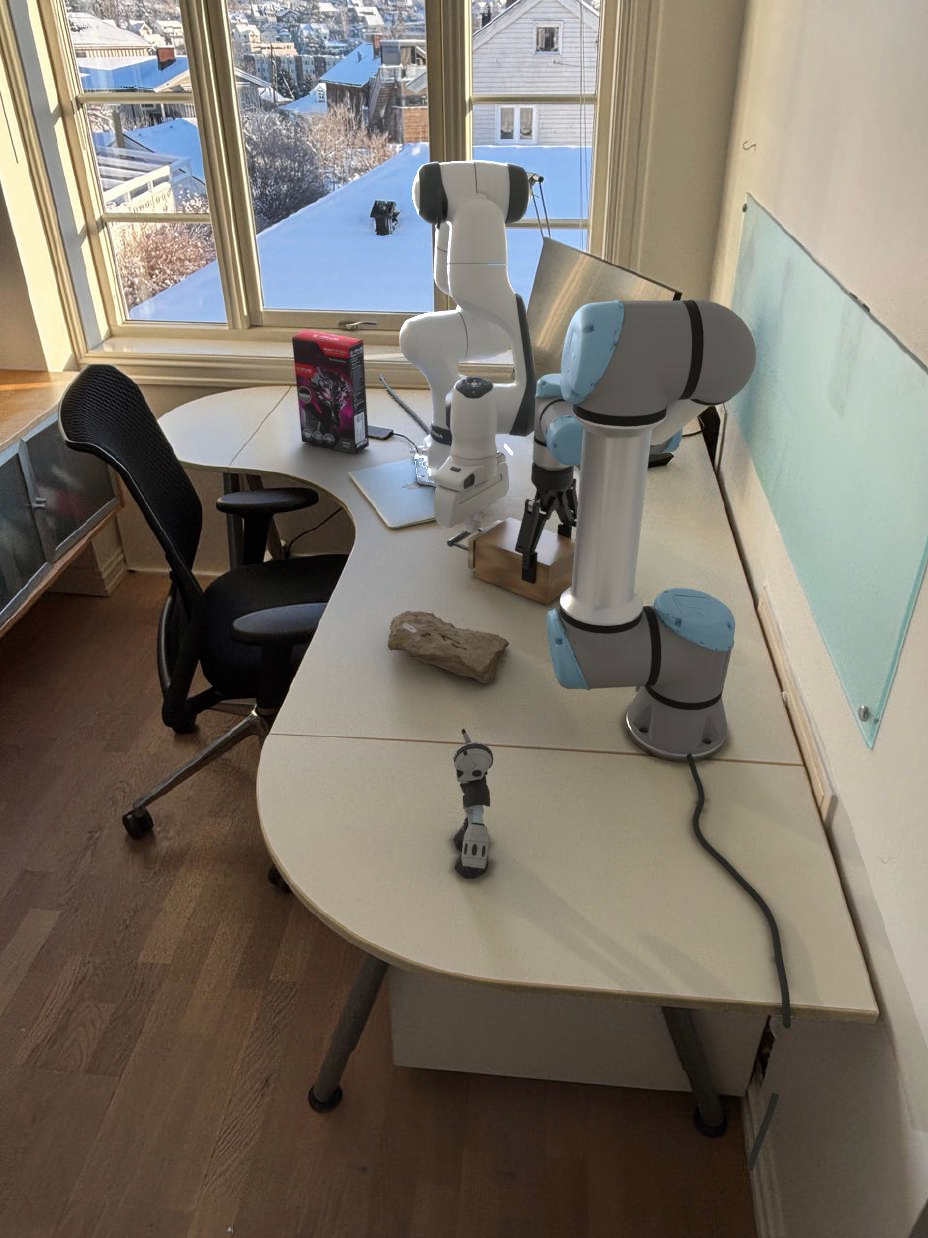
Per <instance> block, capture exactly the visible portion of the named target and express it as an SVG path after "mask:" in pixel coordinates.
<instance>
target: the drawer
mask: <svg viewBox="0 0 928 1238" xmlns="http://www.w3.org/2000/svg"><path fill="white" fill-rule="evenodd" d="M502 521H503V520H501V519H497V520H496V521H493V522H492V523H491V524H489V525H488V526H486V527H485V528H482V527H481V528H479V529H477V530H476V531H474V532H473V533H469V532H467V531H466V529H464V530H463V531H461V532H459V533H457V534H456V535H454V536H453V537H451V538H450V539H447V541H446V545H447V546H448V547H449V548H453V547H456V548H459V549H461V550H463V551H466V552H467V568H468V569H471V570H475V555H476V538H478V537H479V536H481V535H482V534H484V533H485V532H487V531H488V530H490V529H492V528H493V527H495V526H496V525H498V524H499V523H501V522H502ZM474 533H475V534H474ZM469 536H470V537H469ZM468 537H469V538H468ZM467 538H468V540H467V541H468V543H467V545H464V544H462V543H460V542H461V541H463V540H465V539H467Z"/></svg>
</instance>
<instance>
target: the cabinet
mask: <svg viewBox="0 0 928 1238" xmlns="http://www.w3.org/2000/svg"><path fill="white" fill-rule="evenodd" d="M501 521H502V522H501V523H499V524H498V525H496V526H495V527H493V528H492V529H490V530H488V531H487V532H485V533H484V534H482V535H481V536H479V537H478V538H476V555H475V568H474V572H475V573H474V577H475V578H477V579H479V580H482V581H485V582H487V583H490V584H492V585H495V586H497V587H500V588H501V589H502V588H503V589H506V590H507V591H510V592H512V593H515V594H517V595H519V596H523V597H525V598H528V599H530V600H532V601H535V602H538V603H540V604H542V605H545V606H548V605H549V604H551V603H552V602H553V601H554V600H556V599H557V598H558V597H559V596H561V595H562V594H563V592H565V591H566V590H567V589H569V588H570V587H572V577H573V563H574V549H575V539H573V538H572V537H571V538H568V537H565V536H562V535H559V534H557V532H554V531H551V530H548V529H545V528H543V531H542V534H541V536H540V539H539V542H538V544H537V547H536V550H535V552H538V553H537V568H536V583H534V584H531V583H529V582H526V581H524V580H521V577H522V554H521V553H519V552H516V551H515V547H516V543H517V539H518V535H519V531H520V527H521V523H522V520H519V519H516V518H513V517H511V516H509V517H507V518H505V519H503V520H501Z"/></svg>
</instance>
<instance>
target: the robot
mask: <svg viewBox="0 0 928 1238" xmlns="http://www.w3.org/2000/svg"><path fill="white" fill-rule="evenodd" d="M461 734H462V737H463V739H464V742H465V744H463V745H461V746H460V747H459V748H458V749H457V750H456V751H455V753H454V756H453V757H452V760H453V768H455V772H456V774H455V775H456V781H457V782H458V783H459V786H460V789H461V791H462V793H463V794H462V809H464V812H465V814H466V817H465V818H464V821H463V823H462V826H461V827H460V829H459V830H458V831H457V833H456V834H455V835H454V837H453V838H452V841H453V843H454V846H455V847H456V849H457V850H459V851H460V853H459V855H458V858H457V859H456V863H455V865H454V870H455V871H456V872H457V873H458V874H459V875H460V876H461V877H464V878H468V879H472V878H477V877H479V876H481V875H483V874H486V873H487V872H488V867H489V863H490V862H489V848H490V834H489V831H488V826H486V824H485V823H484V818H483V817H484V816H483V815H484V813H485V812H484V810H485V809H484V806H485V807H487V808H491V792H490V788H489V785H488V784H487V775H488V771H489V769H491V768H492V766H493V764H494V755H493V751H492V750H491V749H490V747H488V746H487V745H486V744H484V743H482V742H479V741H476V740H475V741H472V740H471V738H470V736H469V735H468V733H467V730H466V729H465V728H462V729H461Z"/></svg>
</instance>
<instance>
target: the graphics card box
mask: <svg viewBox="0 0 928 1238" xmlns="http://www.w3.org/2000/svg"><path fill="white" fill-rule="evenodd" d="M291 343H292V352H293V361H294V372H295V373H294V374H295V383H296V392H297V405H298V415H299V424H300V436H301V442H302V443H306V444H310V445H314V446H318V447H324V448H327V449H332V450H336V451H339V452H344V453H349V454H353V455H355V454H358V453H359V452H361V451H363V450H365V449H366V448H367V447H369V446H370V440H369V423H368V421H369V420H368V405H367V404H368V403H367V389H366V370H365V349H364V348H365V347H364V340H363V338H355V337H350V336H344V335H338V334H334V333H327V332H322V331H318V330H317V331H316V330H311V329H304V330H301V331H299V332H297V333H295V335H293V336H292V337H291Z"/></svg>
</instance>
